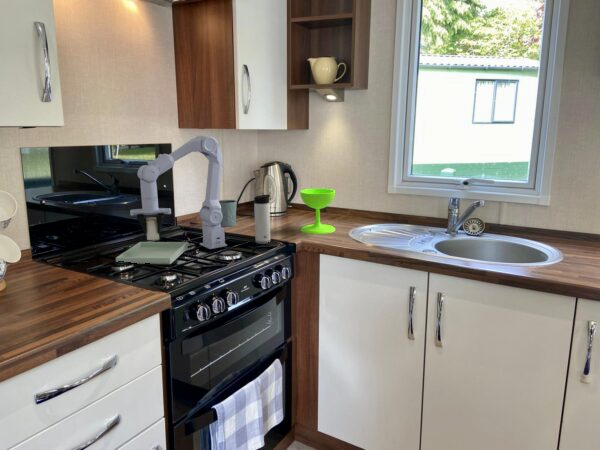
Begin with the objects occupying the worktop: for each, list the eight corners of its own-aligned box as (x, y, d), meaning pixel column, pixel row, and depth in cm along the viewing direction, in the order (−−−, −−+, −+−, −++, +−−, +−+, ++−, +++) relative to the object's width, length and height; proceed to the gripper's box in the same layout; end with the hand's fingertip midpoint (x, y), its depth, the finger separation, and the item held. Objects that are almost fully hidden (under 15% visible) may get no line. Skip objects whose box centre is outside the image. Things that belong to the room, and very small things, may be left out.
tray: (140, 247, 194) (139, 242, 194) (188, 247, 193) (188, 242, 192) (116, 263, 173) (115, 257, 172) (170, 264, 171) (169, 258, 171)
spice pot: (161, 239, 181) (159, 218, 180) (149, 240, 178) (147, 219, 177) (157, 237, 185) (155, 217, 184) (145, 238, 182) (143, 218, 181)
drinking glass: (212, 226, 229) (210, 202, 226) (224, 222, 237) (223, 198, 235) (229, 228, 224) (228, 203, 221) (241, 224, 233) (240, 200, 230)
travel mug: (269, 244, 196) (267, 196, 192) (253, 243, 198) (251, 195, 193) (272, 240, 202) (271, 193, 198) (257, 239, 204) (256, 193, 199)
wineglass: (341, 231, 215) (341, 192, 211) (308, 235, 210) (308, 195, 206) (326, 224, 230) (326, 187, 226) (295, 228, 224) (294, 189, 220)
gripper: (171, 195, 183) (173, 230, 186) (131, 196, 181) (135, 231, 184) (168, 198, 176) (171, 234, 179) (127, 199, 174) (130, 235, 177)
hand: (152, 233), depth 181 cm, fingers closed on spice pot, 4 cm apart
